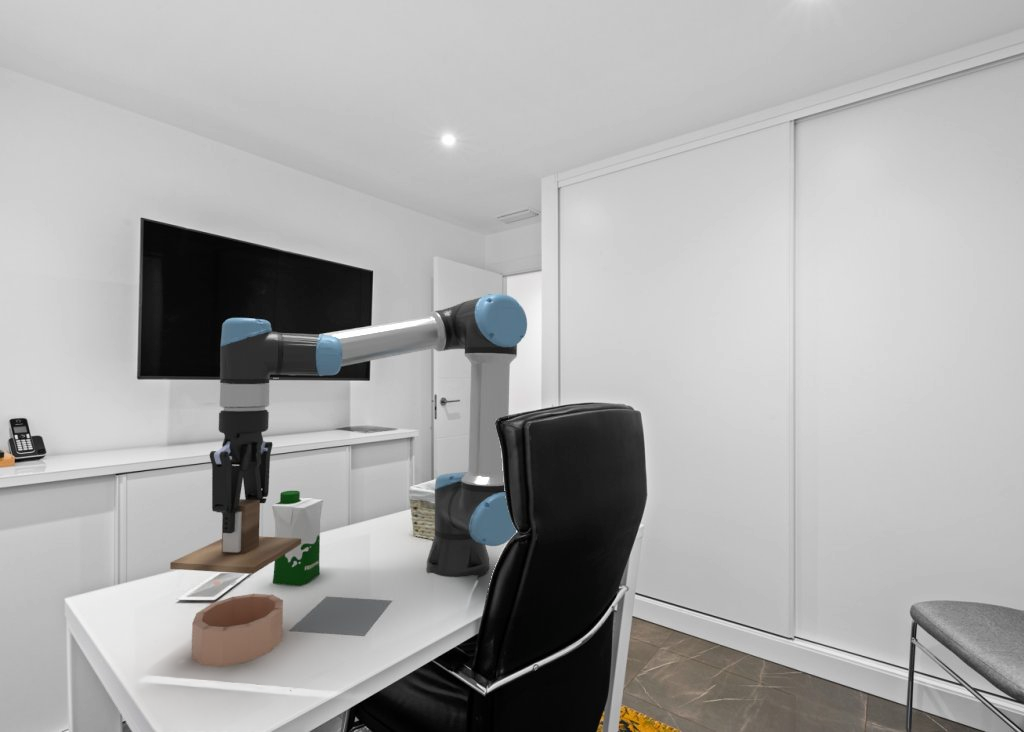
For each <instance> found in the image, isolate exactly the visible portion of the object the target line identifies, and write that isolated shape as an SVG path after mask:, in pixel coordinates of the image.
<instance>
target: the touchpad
mask: <svg viewBox="0 0 1024 732" xmlns="http://www.w3.org/2000/svg"><path fill="white" fill-rule="evenodd" d="M249 575H250V574H246V573H230V572H216V573H214V574H213V575H211V576H210V577H208V578H206V579H205V580H204V581H202V582H201V583H198V585H196V586H195V587H193V588H192V589H190V590H188V591H187V592H185V593H183V594H182V595H181V596H179V598H177V599H175V600H176V601H216V600H217V599H218V598H220V597H221V596H222V595H224V594H225V593H226V592H228V591H229V590H231V589H232V588H233V587H234V586H236V585H237V584H238V583H240V582H242V581H243V579H245V578H246V577H248V576H249Z"/></svg>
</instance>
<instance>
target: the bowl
mask: <svg viewBox="0 0 1024 732" xmlns="http://www.w3.org/2000/svg"><path fill="white" fill-rule="evenodd" d="M283 609H284V600H283V599H281V598H280V597H278V596H276V595H273V594H267V593H266V594H265V593H250V594H243V595H236V596H231V597H228V598H224V599H222V600H219V601H216V602H213V603H210V604H208V605H207V606H206V607H204V608H202V609H201V610H199V611H197V612H196V613H195V616H194V618H193V621H192V626H191V628H192V629H191V630H192V631H191V658H192V659H193V660H195V661H196V662H197V663H198V664H200V665H201V666H212V667H226V666H227V667H228V666H231V665H232V666H233V665H236V664H241V663H248V662H250V661H252V660H254V659H256V658H258V657H261V656H264V655H265V654H268V653H270V652H272V650H273V649H274V648H276V647H277V646H278V645H279V644H280V643H281V642H282V641H283V617H284V616H283V614H284V612H283V611H284V610H283Z"/></svg>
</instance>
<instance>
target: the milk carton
mask: <svg viewBox="0 0 1024 732" xmlns="http://www.w3.org/2000/svg"><path fill="white" fill-rule="evenodd" d="M300 495H301V493H300V491H299V490H286V491H282V492H281V493H280V496H279V497H280V498H279V500H280V501H279V502H276V503H275V504H272V505H271V507H272V508H271V509H272V513H273V518H274V523H275V524H274V525H275V526H274V527H275V530H274V532H275V533H274V535H275V536H274V537H279V538H299V539H301V545H299V546H297V547H296V548H294V549H293V550H291V551H289V552H288V553H286V554H285V555H283V556H281V557H280V558H278V559H276V560H275V561H274V565H273V566H274V567H273V576H272V578H273V579H272V584H277V585H285V586H287V585H288V586H295V587H302V586H305V585H306V584H308V583H309V582H311V581H313V580H314V579H316V578H317V577H318V576H319V575H320V574H321V573H320V572H321V571H320V547H321V545H320V543H321V542H320V541H321V539H320V538H321V517H322V516H321V515H322V509H323V502H324V499H316V498H313V497H312V498H311V497H309V498H308V497H307V498H305V497H300Z"/></svg>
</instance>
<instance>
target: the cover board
mask: <svg viewBox="0 0 1024 732" xmlns="http://www.w3.org/2000/svg"><path fill="white" fill-rule="evenodd" d="M231 505H232V504H231ZM260 505H261V503H260V500H246V499H245V498H244V499H242V498H240V501H239V507H238V511H242V519H241V551H240V552H223V532H222V531H221V538H220V539H219V540H215V541H214V542H211V543H209V544H207V545H205V546H203V547H201V548H198V549H196V550H194V551H192V552H190V553H188V554H186V555H184V556H182V557H179V558H177V559H175V560H173V561H170V563H169V564H170V565H169V566H170V568H169V569H170V570H179V571H181V570H182V571H183V570H185V571H200V572H201V571H202V572H216V573H217V572H230V573H246V574H249V575H254V574H255V573H257V572H259V571H261V570H262V569H264V568H265V567H267V566H268V565H270V564H272V563H273V562H275V560H276V559H278V558H280V557H281V556H283V555H285V554H286V553H288V552H289V551H291V550H293V549H294V548H296V547H297V546H299V545H301V539H299V538H279V537H275V536H260V519H261V518H260V514H261V513H260V512H261V509H260V508H261V506H260Z"/></svg>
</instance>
